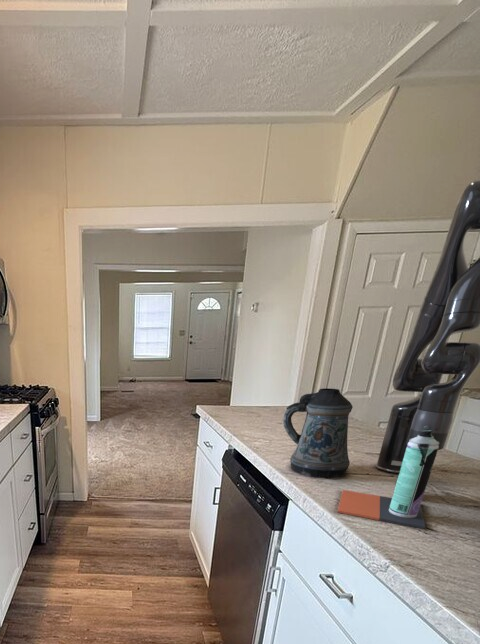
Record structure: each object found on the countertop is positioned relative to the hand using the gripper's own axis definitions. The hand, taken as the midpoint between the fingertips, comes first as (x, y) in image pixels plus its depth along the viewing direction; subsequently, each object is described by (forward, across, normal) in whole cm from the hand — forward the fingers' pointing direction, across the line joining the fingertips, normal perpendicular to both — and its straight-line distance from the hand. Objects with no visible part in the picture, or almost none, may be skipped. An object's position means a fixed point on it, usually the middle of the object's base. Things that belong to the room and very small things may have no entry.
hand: (410, 491), depth 106 cm
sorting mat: (+1, -13, +6) cm, 15 cm away
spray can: (+1, -15, +2) cm, 15 cm away
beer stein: (+2, +11, +24) cm, 27 cm away
